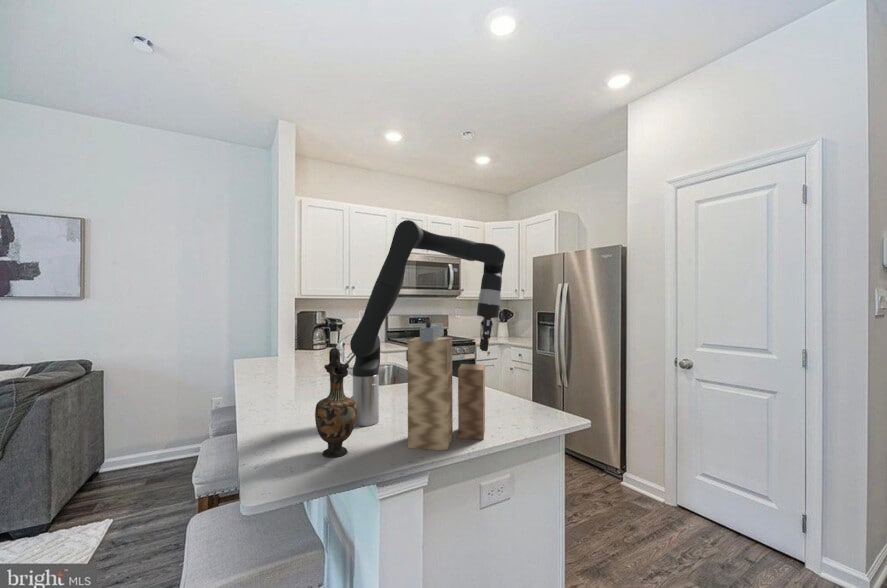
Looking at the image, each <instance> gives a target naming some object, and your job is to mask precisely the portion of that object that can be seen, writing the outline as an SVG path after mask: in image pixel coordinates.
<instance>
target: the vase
mask: <svg viewBox="0 0 887 588" xmlns="http://www.w3.org/2000/svg"><path fill="white" fill-rule="evenodd" d="M328 358H329V363H328V364H325V365H324V370H326V373H328V374H329V380H330V381H329V394H328V396H327V397H325V398H324V397H323V399H320V400H318V402H317V403H316V405H315V409H314V419H315V427H316V431H317V434H318V436H319V438H321V440H323V441H324V442H325V443H327V448H326V449H324V450H323V451H322V454H321V455H322V456H323V457H324V458H328V459H331V458H332V459H334V458H341V457H344V456H346V455H347V454H348V453H349V451H348V448H346V447H345V446H343V444H344V442H345V441H346V440H348V439H349V438H350V436H351V435H352V433H353V431H354V428H355V426H356V425H355V421H356V415H357V404H356V402H355V400H353V399H351V397H348V396H346V395H345V391H344V378H345V377H347V376H348V375H349V371H348V369H349V368H350V364H348V363H342V362H341V353H340V349H339V348H338V347H332V348H330V350H329V355H328Z"/></svg>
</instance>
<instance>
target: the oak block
mask: <svg viewBox="0 0 887 588" xmlns="http://www.w3.org/2000/svg"><path fill="white" fill-rule="evenodd" d="M453 422H454V421H453V337H442V336H441V337H440V338H438V339H437V340H435V341H433V342H420V336H417V337H413V338H411V339H409V340H407V448H408V449H418V450H419V449H420V450H437V451H448V450H449V447H450V445H451V442H452V440H453V434H454V433H453Z"/></svg>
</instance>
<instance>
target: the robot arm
mask: <svg viewBox="0 0 887 588" xmlns="http://www.w3.org/2000/svg"><path fill="white" fill-rule="evenodd" d="M413 250H424V251H425V250H426V251H432V252H436V253H441V254H444V255H447V256H450V257H454V258H457V259H461V260H465V261H469V262H475V261H476V262H480V263H483V274H482V276H481V277H482V278H481V283H480V291H479V295H478V301H477V302H478V303H477V311H476V316H477V317H482V318H483V319H482V320H481V321H480V325H479V327H480V329H479V338H480V339H479V340H480V341H479V349H480V350H481V351H482V352H488V350H489V341H490V339H491V337H492V336H491V335H492V330H493V329H492V328H493V325H494V323H493V320H492V319H498V318H499V315H500V307H501V306H500V305H501V299H502V298H501V293H502V292H501V291H502V283H503V278H502V275H503V269H504V262H505V259H506V252H505V250H504V249H503V248H502V247H500V246H499V245H496V244H492V243H487V242H486V243H485V242H477V241H473V240H469V239H466V238H462V237H456V236H449V235H448V236H447V235H440V234H437V233H433V232H430V231H428V230H426V229H423V228H422V227H420V225H418V224H417V222H415V221H413V220H410V219H405V220H404V221H401V222H400V223H398V225H397V226H396V228H395V230H394V233H393V236H392V240H391V244H390V247H389V249H388V254H387V256H386V258H385V260H384V262H383V264H382V266H381V269H380V271H379V274H378V276H377V279H376V280H375V282H374V286H373V287H372V290H371V294H370V296H369V299H368V301H367V305H366V307H365V310H364V313H363V316H362V318H361V319H360V321H359V323H358V325H357V327H356V329H355V331H354V333H353V335H352V337H351V339H350V346H349V348H350V350H351V352H352V354H353V355H354V356H355V358H354V360H355V361H354V364H353V366H352V396H351V397H350V398H351V399H353V400H355V402H356V404H357V415H356V421H355V425H354V426H360V427H365V426H366V427H367V426H368V427H369V426H372V425H376V424H378V423H379V421H380V415H379V414H380V411H379V410H380V409H379V408H380V407H379V406H380V402H379V401H380V399H379V397H380V394H379V391H380V390H379V385H380V384H379V382H380V381H379V380H380V379H379V378H380V375H379V374H380V373H379V371H380V364H381V340H380V336H379V333H380V329H381V328H382V325H383V323H384V321H385V319H386V318H387V317H388V315H389V313H390V312H391V310H392V309H393V307H394V306H395V303H396V301H397V299H398V297H399V294H400V292H401V289H402V287H403V283H404V279H405V272H406V268H407V264H408V263H407V262H408V260H409V258H410V255H411V254H412V251H413Z"/></svg>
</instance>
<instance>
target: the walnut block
mask: <svg viewBox="0 0 887 588" xmlns="http://www.w3.org/2000/svg"><path fill="white" fill-rule="evenodd" d="M485 379H486V365H485V364H483V363H480V364H479V363H478V364H477V363H475V364H474V363H461V364H460V366H459V367H458V369H457V395H458V396H457V404H458V405H457V406H458V407H457V408H458V409H457V410H458V411H457V414H458V416H457V417H458V418H457V421H458V427H457V429H458V430H457V431H458V432H457V433H458V439H462V440H463V439H464V440H465V439H466V440H480V441H482V440H484V438H485V433H486V380H485Z"/></svg>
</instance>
